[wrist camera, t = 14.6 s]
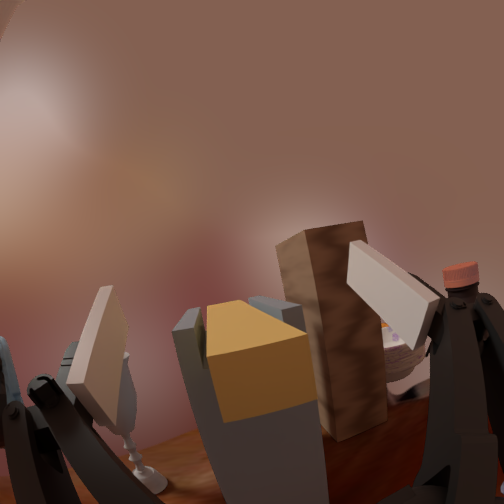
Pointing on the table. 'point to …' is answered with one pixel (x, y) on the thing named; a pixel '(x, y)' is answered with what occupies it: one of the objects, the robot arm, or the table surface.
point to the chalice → (126, 425)
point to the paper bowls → (399, 356)
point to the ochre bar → (256, 362)
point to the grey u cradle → (254, 426)
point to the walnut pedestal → (337, 328)
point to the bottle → (462, 282)
